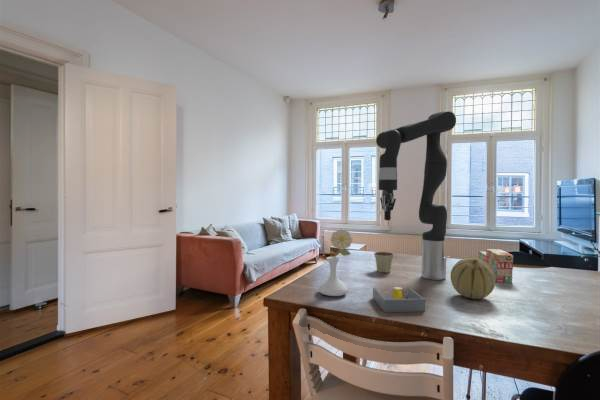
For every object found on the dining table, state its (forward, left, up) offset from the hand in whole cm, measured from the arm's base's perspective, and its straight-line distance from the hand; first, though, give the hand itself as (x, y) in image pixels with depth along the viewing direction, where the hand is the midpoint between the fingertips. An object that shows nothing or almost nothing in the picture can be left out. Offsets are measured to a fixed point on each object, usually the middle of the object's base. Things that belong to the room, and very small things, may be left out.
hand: (387, 220), depth 130 cm
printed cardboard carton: (-54, -9, -27) cm, 61 cm away
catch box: (+4, +23, -27) cm, 36 cm away
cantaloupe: (-26, +18, -27) cm, 42 cm away
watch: (+4, +24, -27) cm, 36 cm away
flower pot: (-5, -19, -27) cm, 34 cm away
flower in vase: (+24, +12, -27) cm, 38 cm away
